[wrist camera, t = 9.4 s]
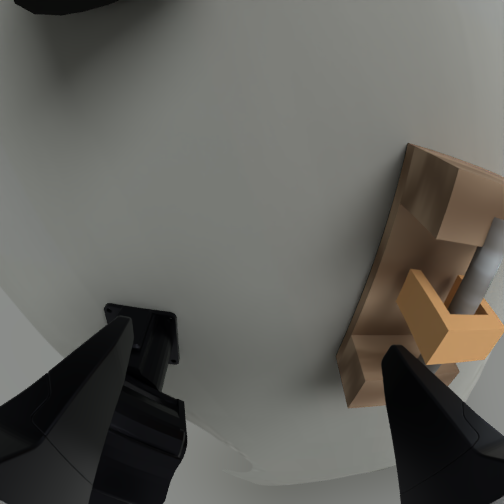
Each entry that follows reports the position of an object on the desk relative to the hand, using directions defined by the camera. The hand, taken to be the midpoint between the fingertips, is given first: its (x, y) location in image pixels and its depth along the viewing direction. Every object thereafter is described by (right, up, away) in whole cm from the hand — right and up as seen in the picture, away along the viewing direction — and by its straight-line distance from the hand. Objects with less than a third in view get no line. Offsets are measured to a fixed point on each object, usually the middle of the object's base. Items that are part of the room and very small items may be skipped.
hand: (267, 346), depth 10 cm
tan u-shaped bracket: (+14, 0, +11) cm, 18 cm away
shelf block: (+14, +1, +13) cm, 19 cm away
